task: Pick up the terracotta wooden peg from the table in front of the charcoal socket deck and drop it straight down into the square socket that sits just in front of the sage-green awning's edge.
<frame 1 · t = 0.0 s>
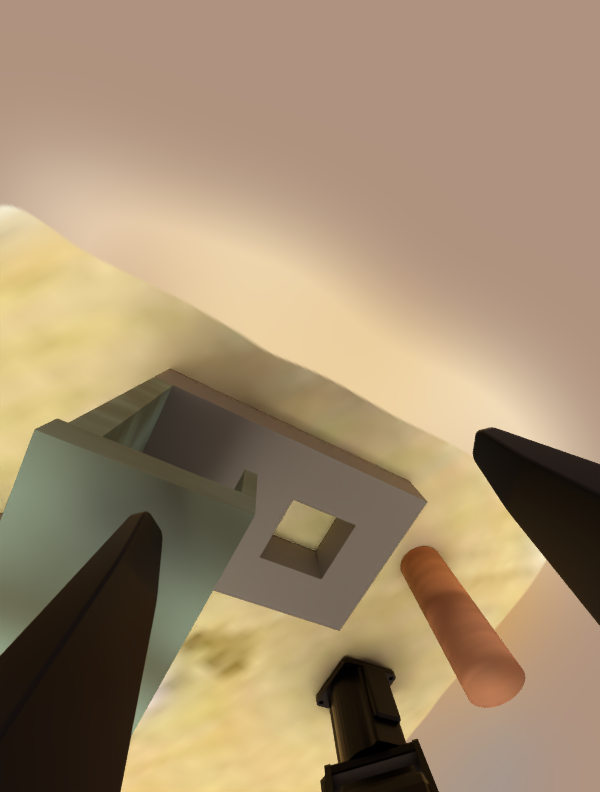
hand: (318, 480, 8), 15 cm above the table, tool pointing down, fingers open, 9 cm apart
socket deck: (262, 500, 26), on the table
peg: (420, 563, 29), on the table
awning: (134, 540, 16), on the socket deck, point 8 cm above the table
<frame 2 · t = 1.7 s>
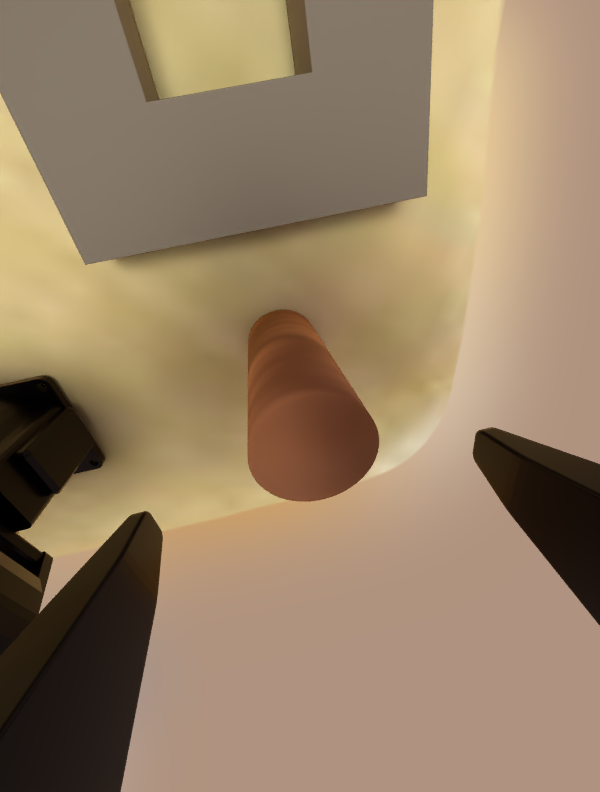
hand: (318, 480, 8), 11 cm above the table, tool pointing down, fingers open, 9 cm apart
peg: (282, 344, 18), on the table
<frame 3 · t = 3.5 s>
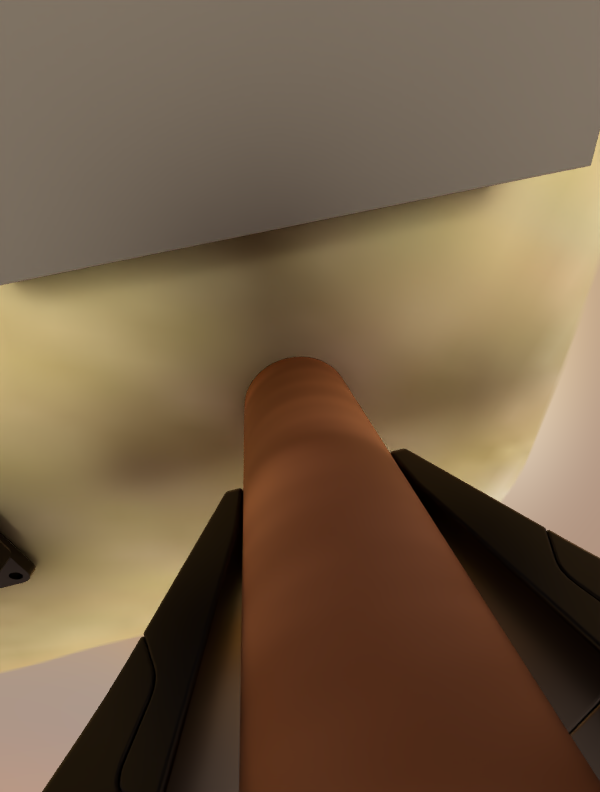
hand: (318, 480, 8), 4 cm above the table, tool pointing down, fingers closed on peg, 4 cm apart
peg: (297, 405, 12), on the table, touching gripper
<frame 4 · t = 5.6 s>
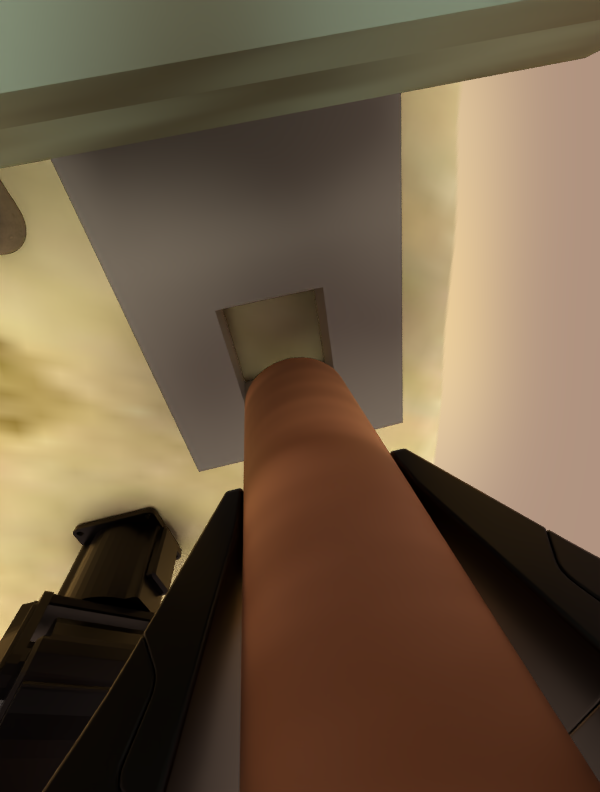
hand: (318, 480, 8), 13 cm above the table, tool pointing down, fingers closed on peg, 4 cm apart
socket deck: (261, 267, 17), on the table
peg: (297, 405, 12), point 9 cm above the table, touching gripper
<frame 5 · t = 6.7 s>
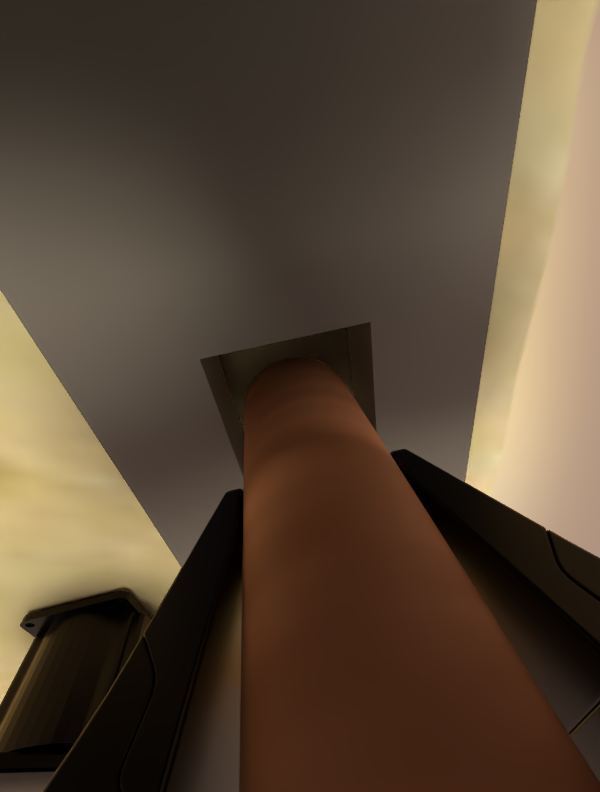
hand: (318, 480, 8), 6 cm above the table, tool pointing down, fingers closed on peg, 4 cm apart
socket deck: (271, 286, 12), on the table
peg: (297, 405, 12), point 2 cm above the table, touching gripper
when the fingers open (6 cm above the table, at t = 7.8 s): peg drops 2 cm, resting in socket deck.
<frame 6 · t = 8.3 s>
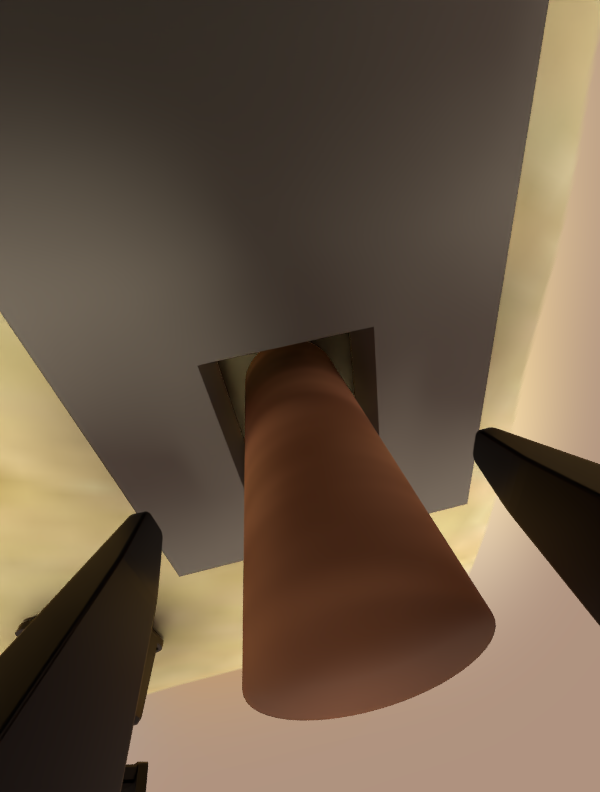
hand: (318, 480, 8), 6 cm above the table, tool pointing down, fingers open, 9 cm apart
socket deck: (271, 289, 11), on the table
peg: (291, 383, 13), resting in socket deck
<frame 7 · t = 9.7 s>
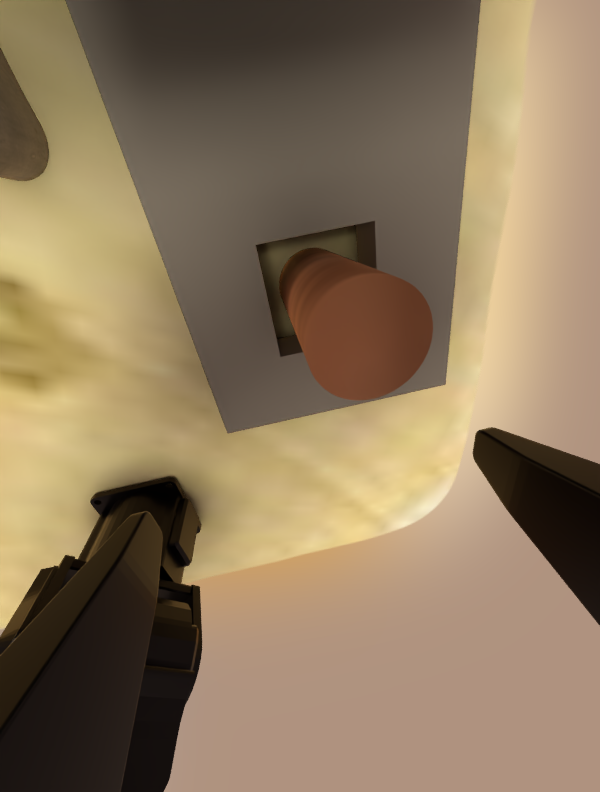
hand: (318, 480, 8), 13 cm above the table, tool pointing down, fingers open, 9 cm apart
socket deck: (301, 205, 16), on the table
peg: (312, 285, 18), resting in socket deck
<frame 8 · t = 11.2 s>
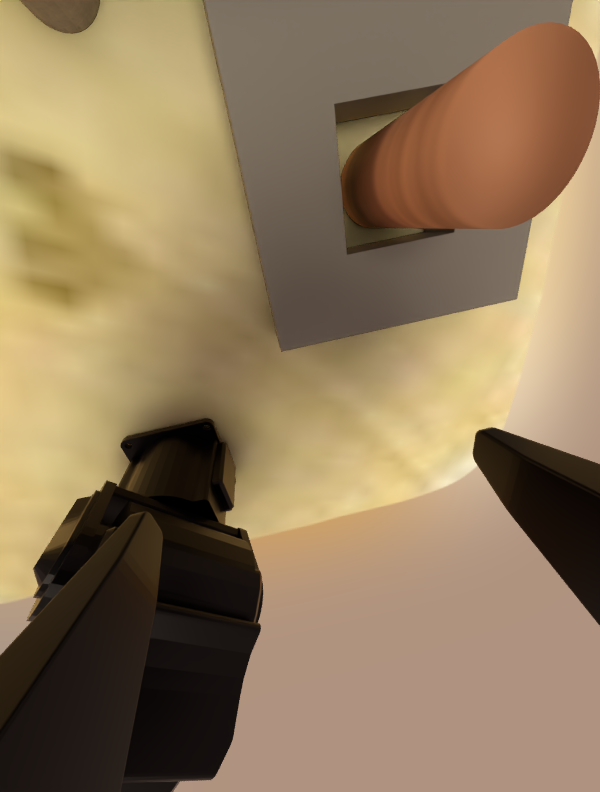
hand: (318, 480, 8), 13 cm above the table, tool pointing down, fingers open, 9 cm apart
socket deck: (372, 82, 14), on the table
peg: (376, 185, 16), resting in socket deck
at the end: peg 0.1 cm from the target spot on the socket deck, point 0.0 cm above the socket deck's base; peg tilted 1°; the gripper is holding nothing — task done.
